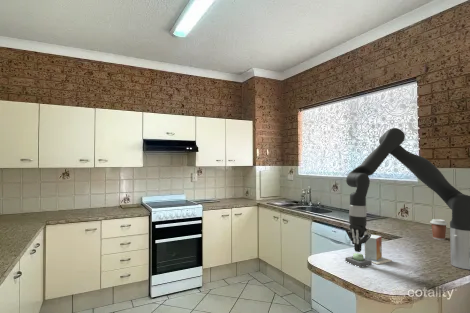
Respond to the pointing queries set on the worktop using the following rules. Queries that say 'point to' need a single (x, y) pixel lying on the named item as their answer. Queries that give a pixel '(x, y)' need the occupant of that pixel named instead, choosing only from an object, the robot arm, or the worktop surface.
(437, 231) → the coffee cup
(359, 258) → the button
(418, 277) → the worktop surface
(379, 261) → the paper pad
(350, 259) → the button housing
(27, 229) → the worktop surface
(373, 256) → the small box
